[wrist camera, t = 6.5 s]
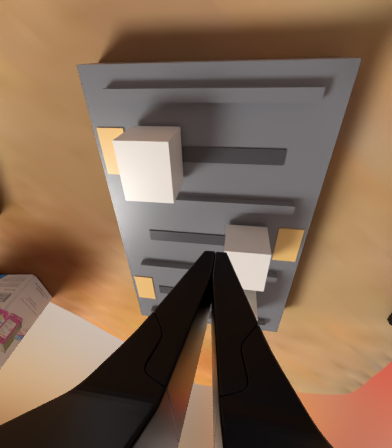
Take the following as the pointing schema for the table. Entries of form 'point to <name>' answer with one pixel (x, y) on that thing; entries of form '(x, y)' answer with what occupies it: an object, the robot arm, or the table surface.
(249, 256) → the tab
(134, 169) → the tab
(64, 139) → the table surface
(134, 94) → the switch bank
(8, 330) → the ink box
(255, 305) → the tab
